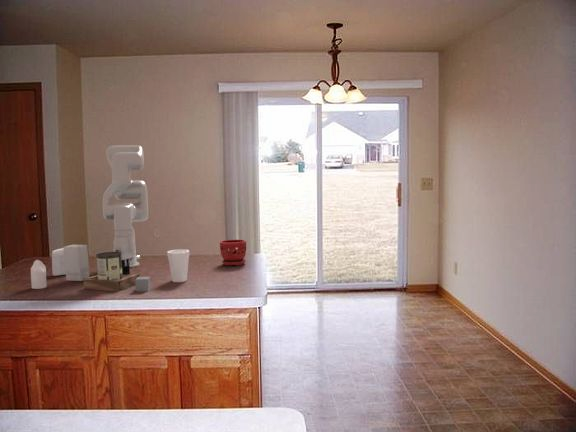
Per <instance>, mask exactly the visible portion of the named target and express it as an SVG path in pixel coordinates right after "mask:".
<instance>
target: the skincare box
mask: <svg viewBox="0 0 576 432" xmlns="http://www.w3.org/2000/svg"><path fill="white" fill-rule="evenodd" d="M63 248H64V259H65V269H66V275H65V278H66V279H65V280H66V281H69V282H70V281H71V282H72V281H73V282H83V279H86V278H89V277H91V276H90V275H91V274H90V265H89V264H90V263H89V255H88V245H87V244H69V245H66V246H63Z"/></svg>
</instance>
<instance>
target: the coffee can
mask: <svg viewBox="0 0 576 432" xmlns="http://www.w3.org/2000/svg"><path fill="white" fill-rule="evenodd" d="M121 255H122V253H120V252H113V251H107V252H106V251H105V252H99V253H96V255H95V258H96V270H97V273H96V274H97V275H98V280H113V281H118V280H120V279H123V278H124V277H123V275H122V260H121Z"/></svg>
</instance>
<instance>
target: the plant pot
mask: <svg viewBox="0 0 576 432" xmlns="http://www.w3.org/2000/svg"><path fill="white" fill-rule="evenodd" d="M219 250H220V255H221V257H222V259H223V260H222V261H221V262H222V264H223V265H224V266H229V265H231V266H232V265H236V266H241V265H244V264H245V263H246V259H245V257H246V254H247V253H246V252H247V240H245V239H225V240H221V241H219ZM232 267H233V266H232Z"/></svg>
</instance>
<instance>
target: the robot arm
mask: <svg viewBox="0 0 576 432" xmlns="http://www.w3.org/2000/svg"><path fill="white" fill-rule="evenodd" d="M144 155H145V154H144V149H143V147H142V146H141V145H136V144H135V145H134V144H130V145H127V144H126V145H125V144H122V145H121V144H120V145H119V144H118V145H111V146H110V145H109V146H108V147H107V148H106V150H105V156H106V159H107V162H108V164H109V166H110V168H111V183H110V185H109V186H108V187H107V188H106V190H105V191H104V193H103V196H102V217H103V218H104V219H105V220H106V221H113V227H114V238H113V245H112V246H113V247H112V252H120V253H122V255H121V260H122V276H129V275H130V273H131V272H130V270H131V268H135V267H138V266H140V262H139V261H137V260H140V259H141V256H140V255H139V254H138V255H137V253H136V249H137V248H136V233H135V232H136V231H135V229H134V227H133V223H134V222H144V221H147V220H148V219H149V216H150V215H149V196H148V195H149V193H148V187H147V184H146V182H145V181H144V180H139V179H137V180H132V171H138V170H143V168H144V165H145V156H144ZM113 195H114V198H115V199H116V200H119V201H132V200H133V201H134V200H137V201H138V202H119V203H118V202H117V203H110V199H111V198H112V197H113Z"/></svg>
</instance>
